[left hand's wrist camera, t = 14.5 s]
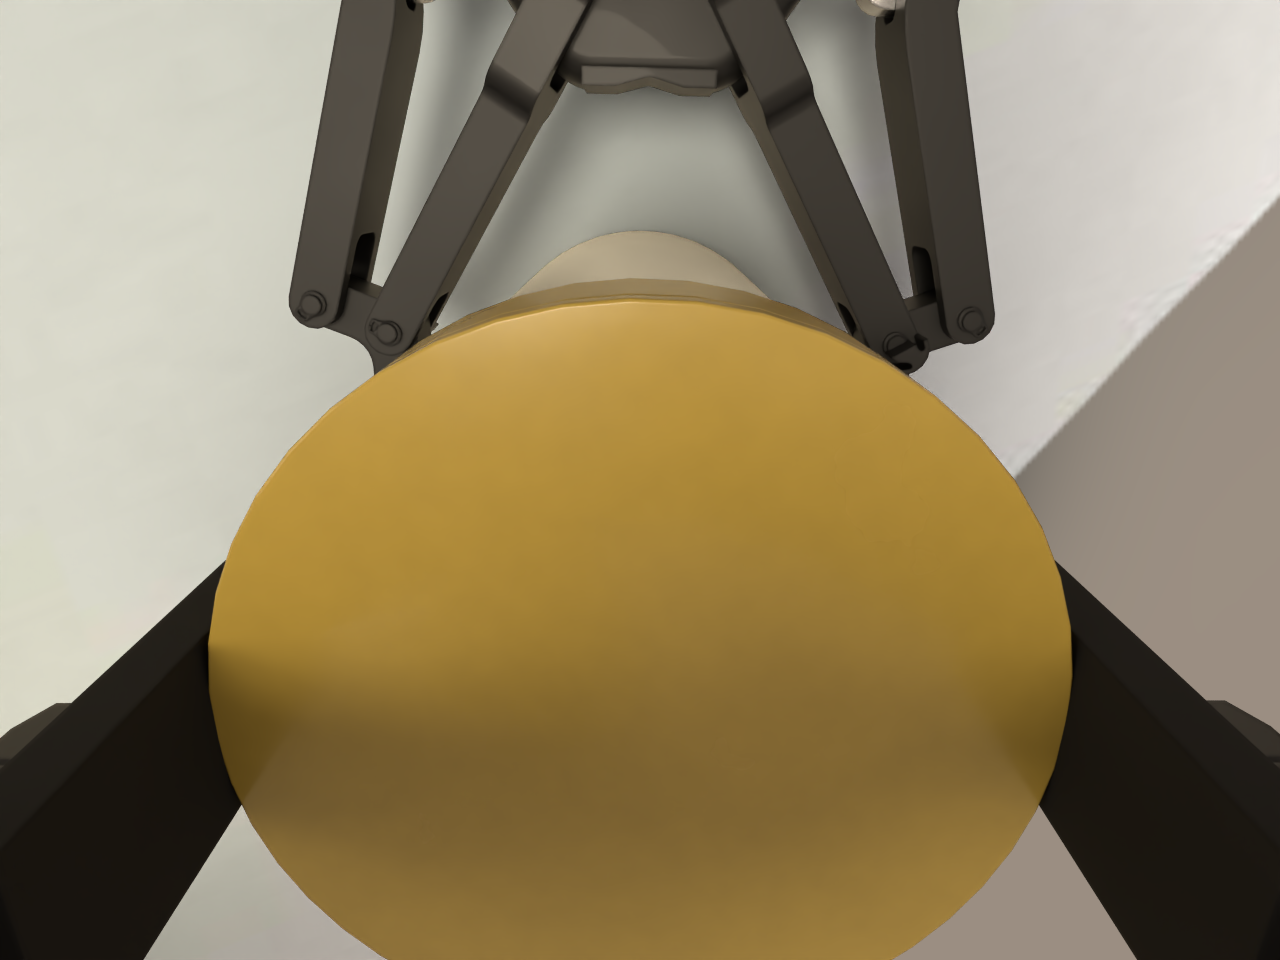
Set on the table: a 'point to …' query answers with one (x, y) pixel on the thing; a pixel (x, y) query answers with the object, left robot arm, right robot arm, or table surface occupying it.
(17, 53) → the table surface
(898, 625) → the lid
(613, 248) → the jar
